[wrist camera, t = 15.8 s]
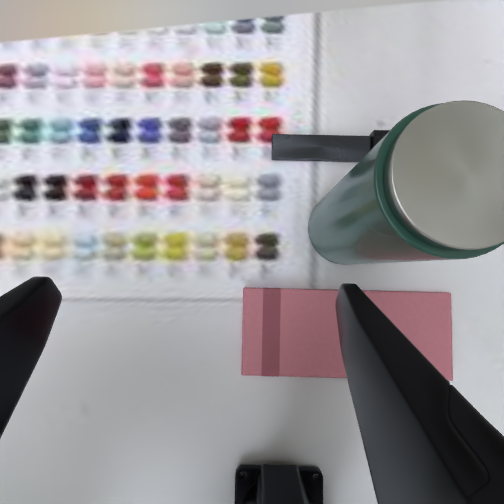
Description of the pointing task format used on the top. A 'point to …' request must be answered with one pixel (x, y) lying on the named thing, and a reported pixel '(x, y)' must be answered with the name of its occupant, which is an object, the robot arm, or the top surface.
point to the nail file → (324, 146)
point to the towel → (333, 330)
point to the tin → (420, 191)
